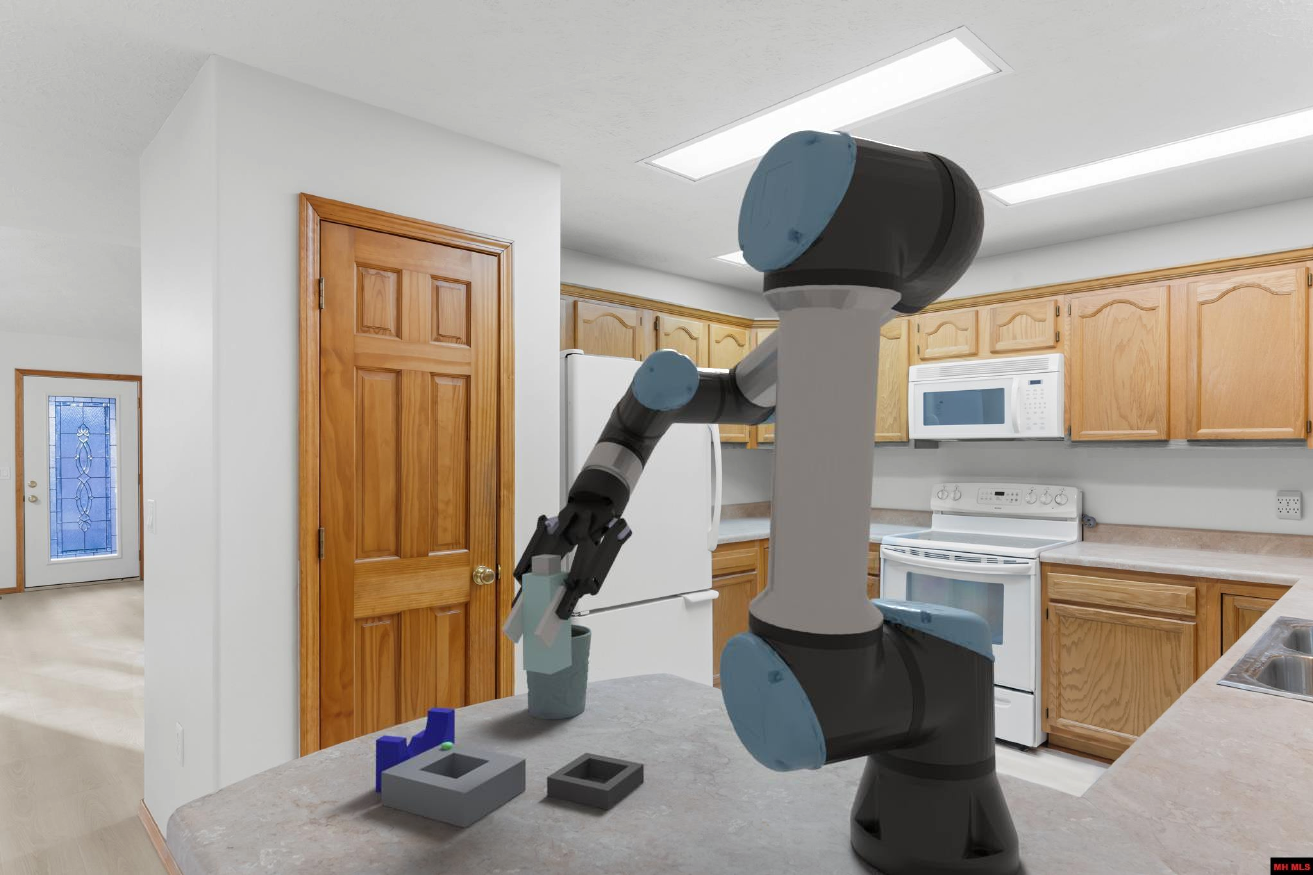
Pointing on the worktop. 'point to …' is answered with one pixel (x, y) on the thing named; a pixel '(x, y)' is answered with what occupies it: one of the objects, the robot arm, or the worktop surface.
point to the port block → (453, 783)
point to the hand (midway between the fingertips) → (525, 638)
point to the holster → (574, 788)
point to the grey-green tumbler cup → (562, 682)
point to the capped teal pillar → (535, 603)
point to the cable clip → (415, 741)
